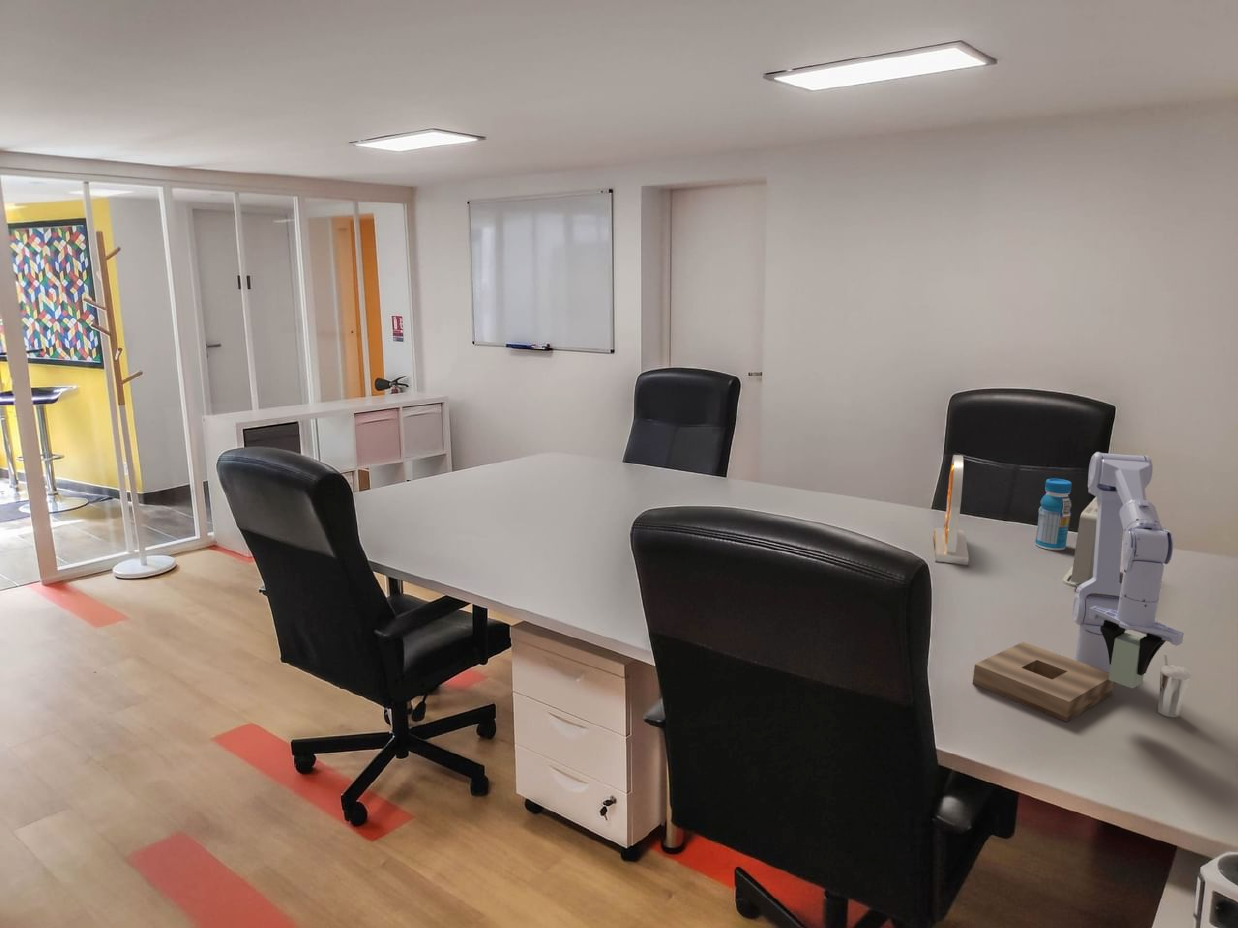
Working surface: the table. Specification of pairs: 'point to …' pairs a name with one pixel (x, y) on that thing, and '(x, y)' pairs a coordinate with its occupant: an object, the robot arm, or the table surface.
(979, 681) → the socket block
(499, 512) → the table surface
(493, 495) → the table surface
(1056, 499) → the beverage bottle
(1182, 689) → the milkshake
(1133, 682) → the peg
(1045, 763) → the table surface
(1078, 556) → the network device
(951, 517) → the award
